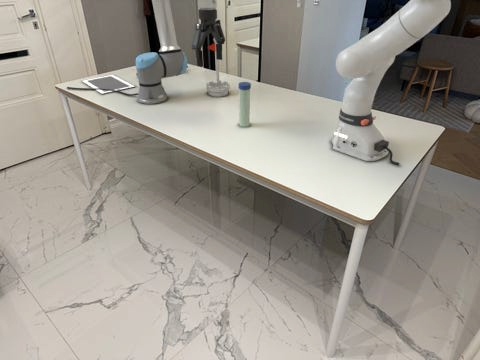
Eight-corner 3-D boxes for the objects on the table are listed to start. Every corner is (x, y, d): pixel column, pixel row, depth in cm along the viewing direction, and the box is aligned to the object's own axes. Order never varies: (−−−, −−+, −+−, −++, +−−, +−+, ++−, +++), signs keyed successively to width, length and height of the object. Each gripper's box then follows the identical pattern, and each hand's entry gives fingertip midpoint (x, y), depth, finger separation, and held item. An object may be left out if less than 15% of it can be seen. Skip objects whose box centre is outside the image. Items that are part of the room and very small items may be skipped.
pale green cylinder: (237, 125, 155) (237, 85, 145) (242, 122, 158) (242, 82, 148) (246, 127, 153) (246, 87, 143) (251, 124, 156) (251, 84, 146)
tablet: (81, 81, 211) (81, 80, 210) (113, 75, 222) (113, 74, 222) (102, 94, 190) (101, 93, 190) (135, 86, 201) (135, 86, 201)
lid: (236, 88, 145) (236, 84, 144) (242, 85, 149) (242, 81, 148) (246, 90, 143) (246, 86, 142) (253, 87, 147) (253, 83, 146)
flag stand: (225, 88, 199) (224, 33, 182) (233, 95, 188) (232, 38, 172) (204, 91, 195) (200, 35, 178) (210, 98, 184) (207, 39, 168)
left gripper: (194, 12, 126) (198, 70, 138) (232, 6, 143) (233, 57, 155) (179, 11, 129) (184, 67, 141) (218, 5, 147) (220, 55, 158)
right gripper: (297, -35, 119) (294, 9, 127) (336, -36, 129) (331, 5, 137) (285, -35, 124) (283, 7, 131) (324, -36, 134) (319, 4, 141)
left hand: (210, 62), depth 148 cm, fingers open, 13 cm apart
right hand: (308, 6), depth 134 cm, fingers open, 8 cm apart
